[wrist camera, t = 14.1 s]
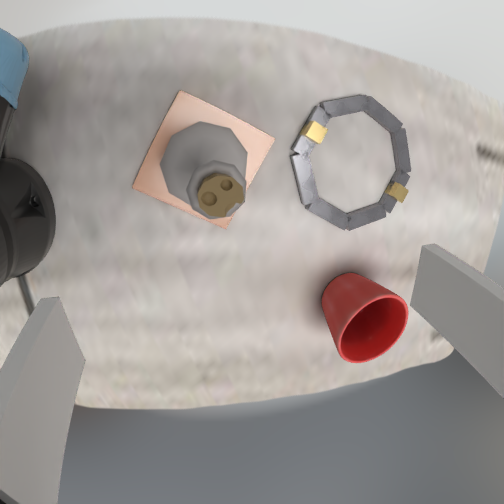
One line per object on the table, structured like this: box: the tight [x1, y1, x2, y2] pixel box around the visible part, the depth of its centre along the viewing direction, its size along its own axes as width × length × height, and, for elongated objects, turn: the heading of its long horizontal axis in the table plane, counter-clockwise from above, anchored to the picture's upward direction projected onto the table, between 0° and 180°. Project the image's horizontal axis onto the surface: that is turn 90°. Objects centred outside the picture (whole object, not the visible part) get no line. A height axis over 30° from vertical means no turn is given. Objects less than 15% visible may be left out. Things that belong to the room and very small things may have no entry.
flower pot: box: [322, 273, 408, 363], centre depth 41 cm, size 11×11×10 cm
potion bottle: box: [160, 121, 248, 219], centre depth 25 cm, size 9×9×18 cm
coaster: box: [132, 90, 275, 229], centre depth 33 cm, size 12×12×1 cm
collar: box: [290, 95, 411, 231], centre depth 37 cm, size 17×17×2 cm
